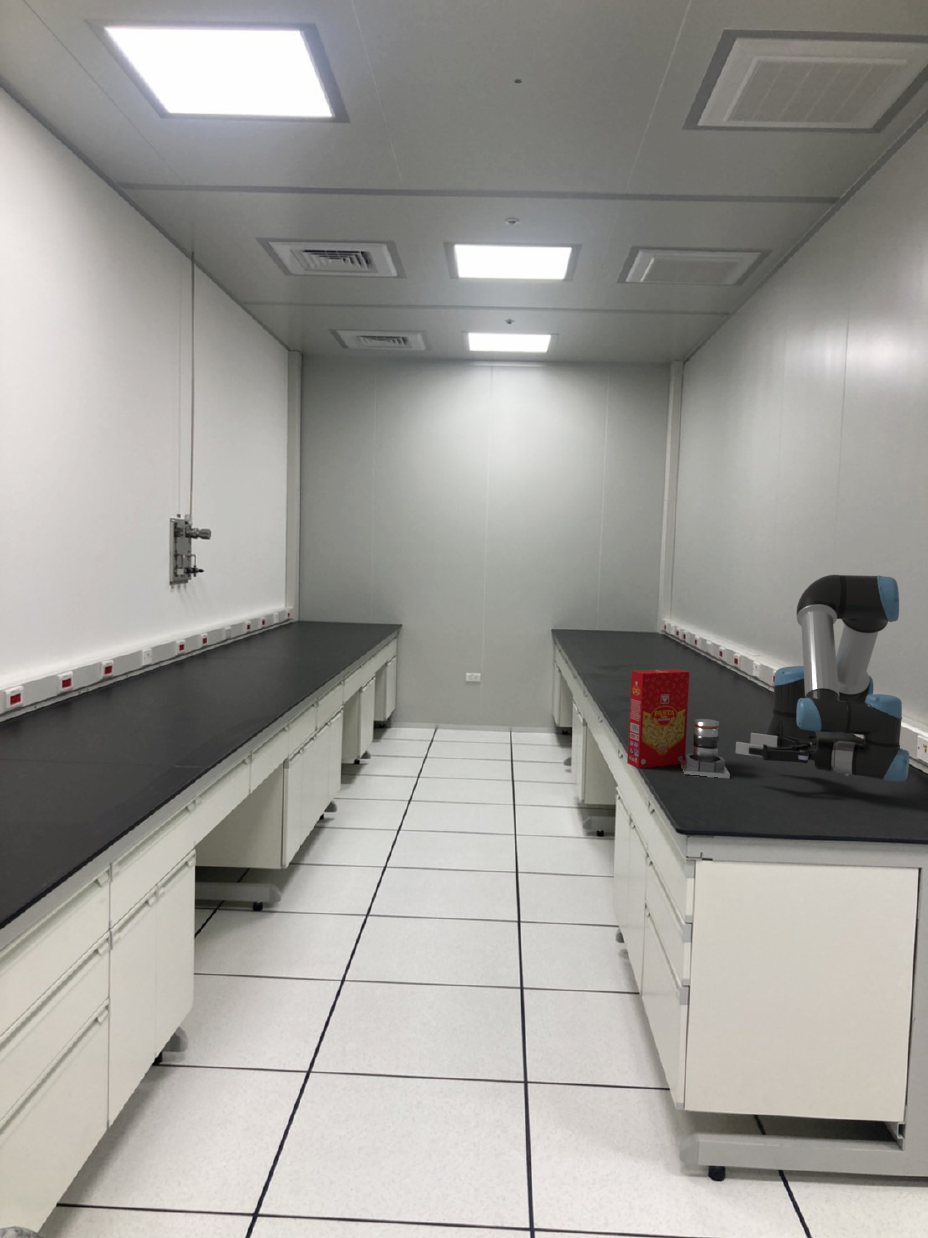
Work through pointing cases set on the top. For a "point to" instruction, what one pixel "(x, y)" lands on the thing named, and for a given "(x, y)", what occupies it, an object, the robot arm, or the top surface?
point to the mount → (704, 767)
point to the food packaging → (658, 717)
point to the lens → (705, 740)
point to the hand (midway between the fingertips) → (743, 742)
